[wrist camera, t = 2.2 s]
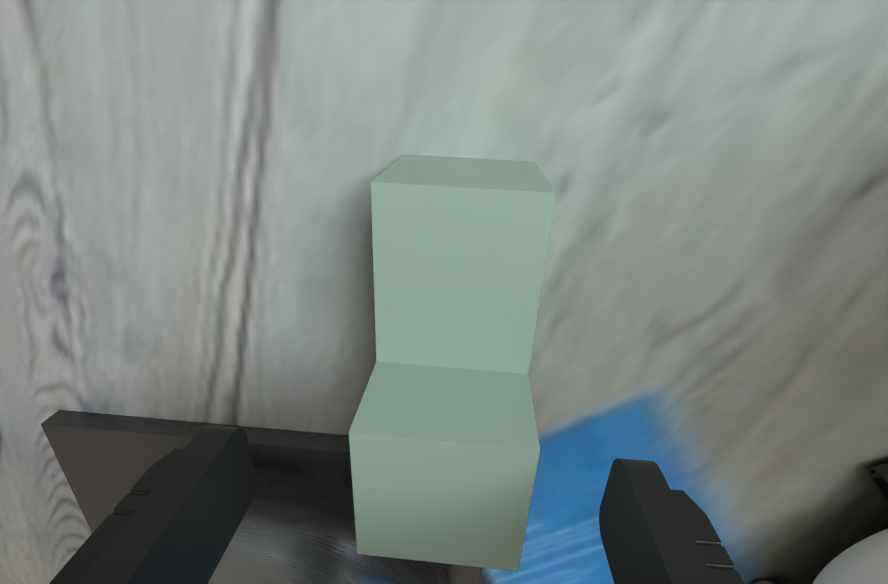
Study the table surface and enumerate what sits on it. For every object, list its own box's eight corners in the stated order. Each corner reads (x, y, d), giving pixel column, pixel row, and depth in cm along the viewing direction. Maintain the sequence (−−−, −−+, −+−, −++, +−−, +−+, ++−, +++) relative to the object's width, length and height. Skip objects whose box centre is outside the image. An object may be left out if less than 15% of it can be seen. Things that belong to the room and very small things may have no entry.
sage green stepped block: (534, 161, 15) (581, 229, 8) (505, 391, 19) (517, 571, 12) (403, 154, 15) (332, 213, 8) (403, 382, 20) (357, 553, 12)
